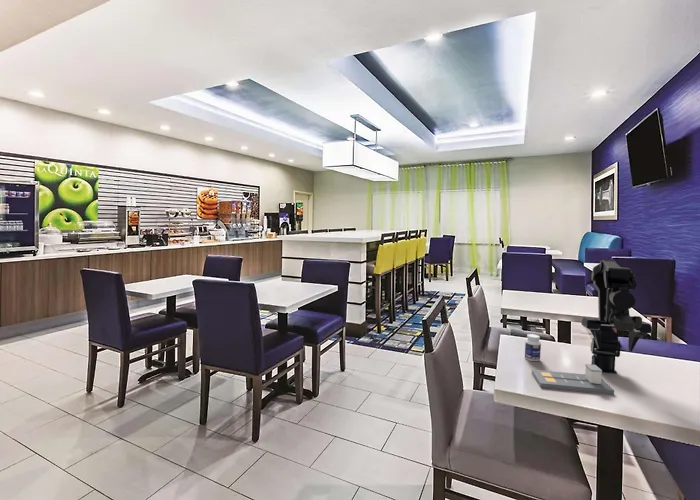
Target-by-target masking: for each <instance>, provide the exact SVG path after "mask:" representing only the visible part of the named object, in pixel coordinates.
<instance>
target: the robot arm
mask: <svg viewBox="0 0 700 500" xmlns="http://www.w3.org/2000/svg"><path fill="white" fill-rule="evenodd" d="M631 270H632V269H631V268H629V267H622V266H620V265H619V264H618V262H617V260H615V259H614V260H612V259H609V260H608V259H602V260H600V261H599V263H598V264H597V265H595V266H593V267H592V270H591V275H590V276H591V281H592V282H593V287H594V289H595V290H596V291H597V293H598V295H597V296H598V297H597V299H598V300H597V301H598V303H597V304H598V319H597V318H596V317H586V316H585V317H583V318H581V325H582V326H583V327H585V328H586V329H587V330H589V331H590V332H591V335H592V337H593V338H592V339H591V342H590V352H591V354H593V355H591V365H596V366H597V367H599V368H600V369H601V370H602V373H612V374H618V372H617V370H616V357H617V358H619V357H620V356H621V350H622V348H623V345H622V344H621V341H620V340H619V334H618V332H616V331H615V330H614V329H613V328H615V329H616V330H617V331H619V332H623V331H624V332H628V346H627V347H628V351H629V352H631V353H632V352H633V350H634V348H635V346H636V345H637V343H638V342H639V339H641V338H642V337H643V336H647V335H648V334H652V333H653V326H652V324H650V323H648V322H646V321H643V318H642V317H641V316H639V315H638V316H637V315H633V316H631V314H630V309H632V308H634V306H635V304H636V298H635V295H633V294H632V293H631V292H630V291H631V290H633V291H635V290H636V287H637V280H636V276H635V274H634V272H633V271H631Z"/></svg>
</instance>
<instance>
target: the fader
mask: <svg viewBox="0 0 700 500" xmlns="http://www.w3.org/2000/svg"><path fill="white" fill-rule="evenodd" d="M591 364H592V363H591ZM591 364H589V363H588V364H587V363H585V365H584V366H585V369H584V370H585V373H584V374H585V377H586V378H587V380H588V381H589V382H590V383H595V384H601V378H602V373H603V372H602V370H601V369H600V368H599V367H597V366H596V365H591Z"/></svg>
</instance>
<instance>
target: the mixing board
mask: <svg viewBox="0 0 700 500" xmlns="http://www.w3.org/2000/svg"><path fill="white" fill-rule="evenodd" d="M531 375H532V376H533V378H534V379H535V382H536V383H537V384H538V385H539V387H540V388H541V389H542V388H544V389H555V390H565V391H574V392H585V393H593V394H604V395H612V396H614V395H615V389H614V388H612V387H611V386H610V385H609V384H608V382H606V381H605V380H604V379H603V378H602V377H601V384H595V383H590V382H589V381H588V380H587V378H586V377H585V373H576V372H575V373H574V372H563V371H552V370H543V369H531Z"/></svg>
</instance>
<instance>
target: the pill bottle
mask: <svg viewBox="0 0 700 500" xmlns="http://www.w3.org/2000/svg"><path fill="white" fill-rule="evenodd" d="M526 335H527V336H526V340H525V343H524V344H525V346H524V358H525V360H528V361H532V362H538V361H540V360H541V349H542V347H541V346H542V344H541V341H540V339H541V338H540V336H539V335H538V334H532V333H531V334H530V333H527V334H526Z"/></svg>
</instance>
